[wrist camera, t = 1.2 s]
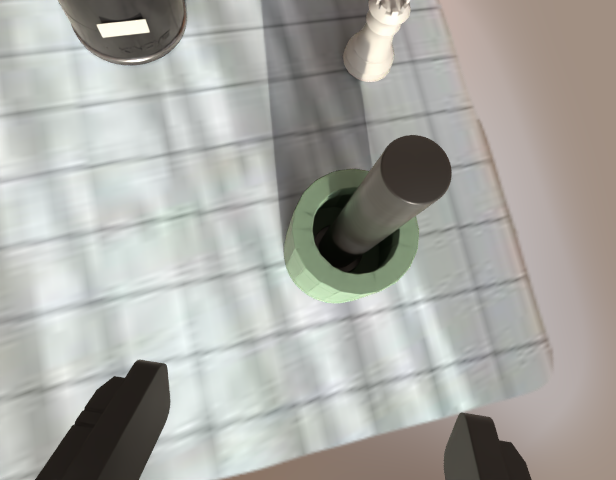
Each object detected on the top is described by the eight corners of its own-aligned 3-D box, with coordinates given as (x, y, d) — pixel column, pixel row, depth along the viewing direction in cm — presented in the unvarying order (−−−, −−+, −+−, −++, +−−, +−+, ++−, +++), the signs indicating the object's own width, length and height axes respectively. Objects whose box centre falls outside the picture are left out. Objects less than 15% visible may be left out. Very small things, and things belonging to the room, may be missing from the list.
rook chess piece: (390, 44, 41) (423, -24, 33) (389, 88, 40) (422, 28, 32) (343, 37, 40) (365, -34, 32) (340, 81, 39) (361, 18, 31)
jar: (266, 230, 35) (269, 200, 28) (353, 188, 37) (379, 149, 29) (313, 321, 34) (331, 317, 27) (401, 274, 36) (441, 257, 28)
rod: (301, 240, 35) (350, 146, 18) (345, 218, 36) (432, 108, 18) (325, 284, 35) (399, 233, 17) (368, 262, 35) (482, 191, 18)
